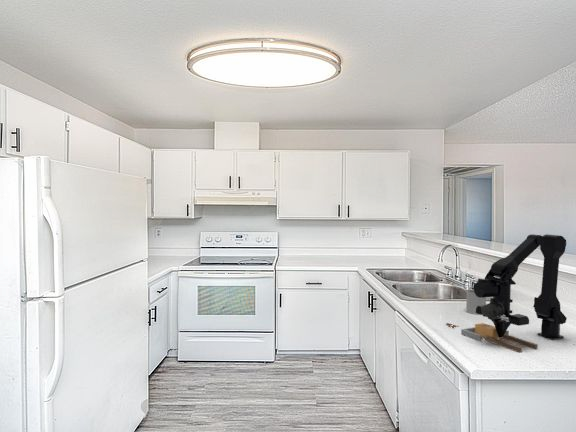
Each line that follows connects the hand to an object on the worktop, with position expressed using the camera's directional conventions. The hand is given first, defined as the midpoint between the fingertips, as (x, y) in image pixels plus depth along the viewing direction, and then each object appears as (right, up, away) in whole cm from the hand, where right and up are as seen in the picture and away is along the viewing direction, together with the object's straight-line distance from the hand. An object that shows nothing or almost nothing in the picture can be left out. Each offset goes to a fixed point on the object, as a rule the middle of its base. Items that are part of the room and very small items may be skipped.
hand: (500, 337), depth 155 cm
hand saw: (-15, -1, +26) cm, 30 cm away
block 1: (-3, -1, +7) cm, 8 cm away
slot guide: (+2, -1, -4) cm, 4 cm away
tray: (-3, -1, +6) cm, 7 cm away
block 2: (-2, -1, +4) cm, 4 cm away
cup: (+9, 0, +40) cm, 41 cm away
